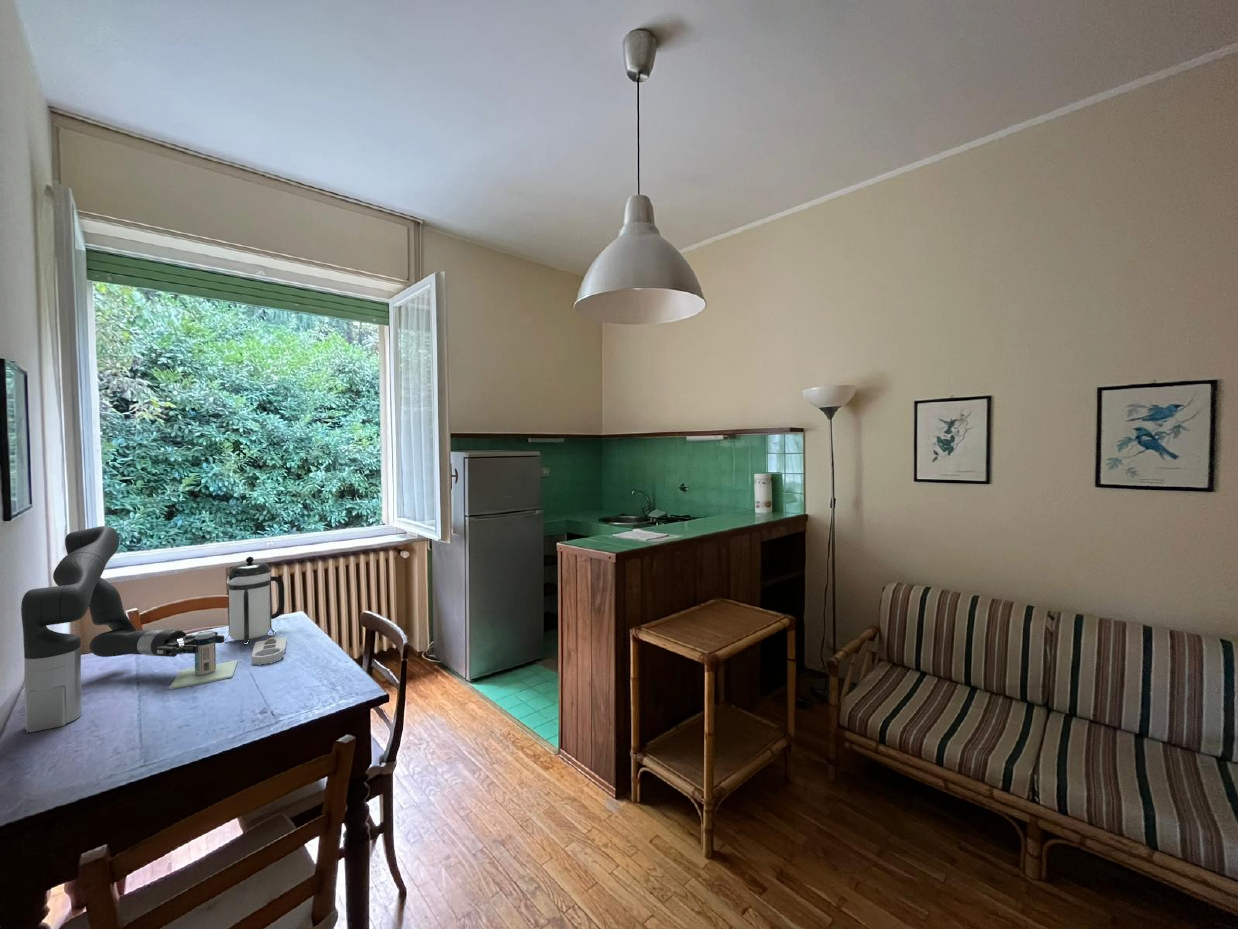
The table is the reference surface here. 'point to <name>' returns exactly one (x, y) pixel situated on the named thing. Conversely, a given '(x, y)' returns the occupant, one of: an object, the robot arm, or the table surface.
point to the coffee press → (252, 600)
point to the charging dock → (268, 650)
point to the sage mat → (190, 678)
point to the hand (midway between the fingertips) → (210, 644)
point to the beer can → (205, 653)
